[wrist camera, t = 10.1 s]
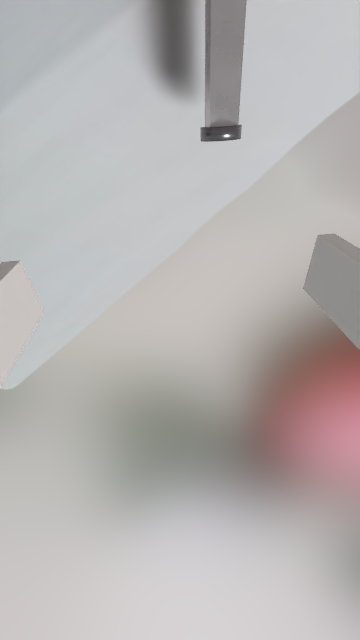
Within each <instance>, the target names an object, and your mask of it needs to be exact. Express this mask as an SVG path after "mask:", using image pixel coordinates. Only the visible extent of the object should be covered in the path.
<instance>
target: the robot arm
mask: <svg viewBox="0 0 360 640" xmlns="http://www.w3.org/2000/svg"><path fill="white" fill-rule="evenodd" d="M303 289H304V290H305V291H306V292H307V293H308V294H309V295H310V296H311V298H312V299H313V300H314V301H315V302H316V303H317V304H318V305H319V306H320V307H321V308H322V310H323V311H324V312H325V313H326V314H327V315H328V316H329V317H330V318H331V319H332V320H333V322H334V323H335V324H336V325H337V326H338V327H339V328H340V329H341V330H342V331H343V332H344V333H345V335H346V336H347V337H348V338H349V339H350V340H351V341H352V342H353V343H354V344H355V345H356V347H357V348H358V349H359V350H360V249H359V248H357V247H356V246H354V245H352V244H351V243H349V242H347V241H346V240H344V239H342V238H340V237H339V236H337V235H336V234H325V235H318V236H317V240H316V243H315V247H314V251H313V255H312V258H311V262H310V265H309V269H308V273H307V276H306V280H305V284H304V287H303ZM43 314H44V310H43V308H42V306H41V304H40V302H39V300H38V298H37V295H36V293H35V291H34V289H33V287H32V285H31V282H30V280H29V278H28V276H27V274H26V272H25V270H24V267H23V265H22V263H21V261H10V262H2V263H1V264H0V388H1V386H2V384H3V383H4V381H5V379H6V377H7V376H8V374H9V372H10V371H11V369H12V367H13V365H14V364H15V362H16V360H17V359H18V357H19V355H20V353H21V352H22V350H23V348H24V347H25V345H26V343H27V341H28V340H29V338H30V336H31V335H32V333H33V331H34V329H35V328H36V326H37V324H38V323H39V321H40V319H41V317H42V316H43Z"/></svg>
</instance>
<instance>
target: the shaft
mask: <svg viewBox="0 0 360 640" xmlns="http://www.w3.org/2000/svg"><path fill="white" fill-rule="evenodd" d="M245 14H246V0H205V127H201V141H226V140H236V139H241V128H242V125H238V121H239V106H240V90H241V75H242V60H243V45H244V29H245Z"/></svg>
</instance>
